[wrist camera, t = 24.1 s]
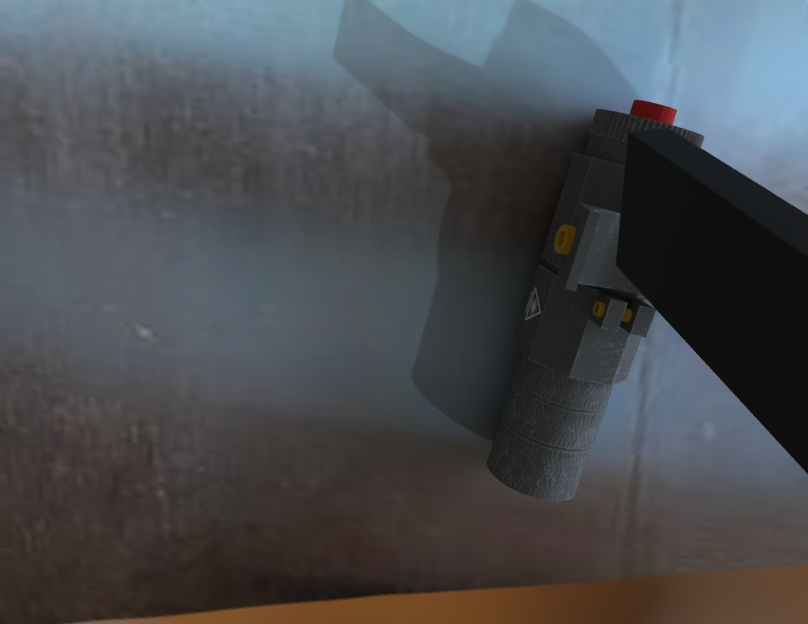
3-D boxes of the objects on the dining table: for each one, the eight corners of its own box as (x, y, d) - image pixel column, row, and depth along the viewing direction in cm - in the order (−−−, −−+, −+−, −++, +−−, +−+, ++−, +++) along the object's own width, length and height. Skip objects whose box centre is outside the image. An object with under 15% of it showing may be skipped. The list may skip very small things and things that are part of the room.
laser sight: (445, 439, 48) (486, 529, 38) (552, 80, 42) (632, 82, 32) (583, 463, 50) (655, 553, 40) (703, 124, 44) (819, 138, 35)
